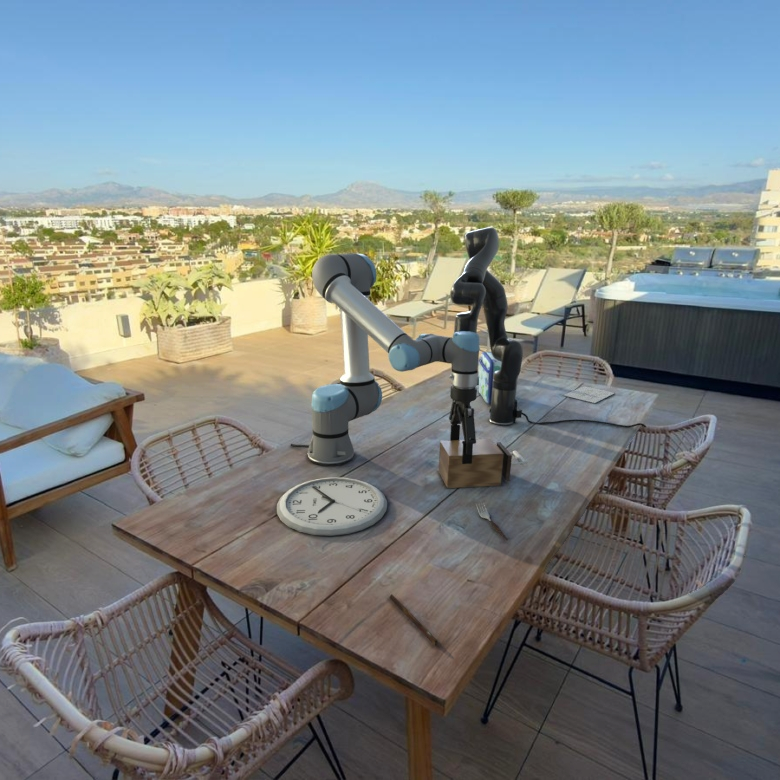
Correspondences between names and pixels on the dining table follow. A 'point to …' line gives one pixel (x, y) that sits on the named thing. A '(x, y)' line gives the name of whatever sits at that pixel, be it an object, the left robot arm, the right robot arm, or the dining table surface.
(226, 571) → the dining table surface
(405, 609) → the dark brown rod
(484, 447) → the cabinet
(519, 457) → the drawer
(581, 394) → the invitation card
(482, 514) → the fork
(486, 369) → the lunch box
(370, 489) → the wall clock
